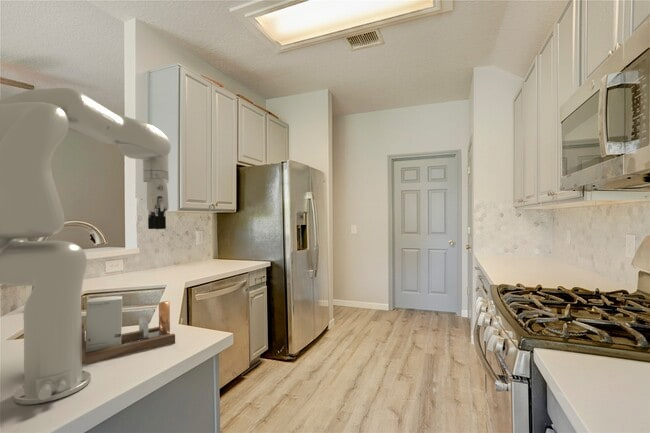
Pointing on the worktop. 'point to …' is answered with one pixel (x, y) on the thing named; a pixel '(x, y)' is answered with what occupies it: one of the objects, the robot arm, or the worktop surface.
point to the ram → (163, 323)
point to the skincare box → (103, 323)
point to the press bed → (125, 346)
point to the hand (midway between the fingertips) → (156, 228)
